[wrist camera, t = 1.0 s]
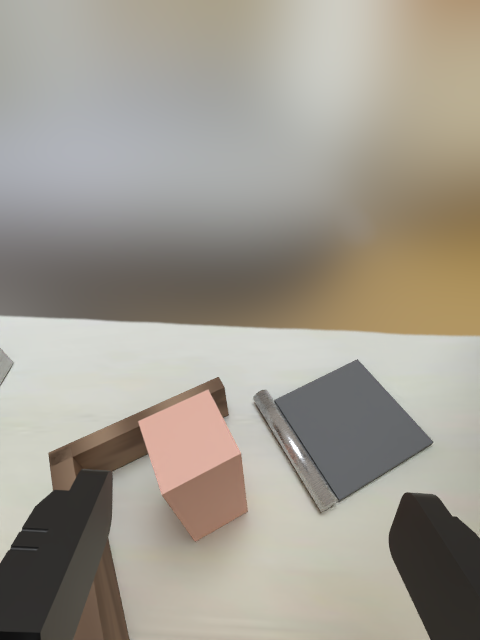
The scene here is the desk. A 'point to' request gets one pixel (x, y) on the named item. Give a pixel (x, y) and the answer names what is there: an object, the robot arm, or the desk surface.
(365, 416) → the mat
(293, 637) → the desk surface
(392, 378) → the desk surface
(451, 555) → the robot arm
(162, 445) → the tall pink rectangular block
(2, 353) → the product box
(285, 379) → the desk surface
